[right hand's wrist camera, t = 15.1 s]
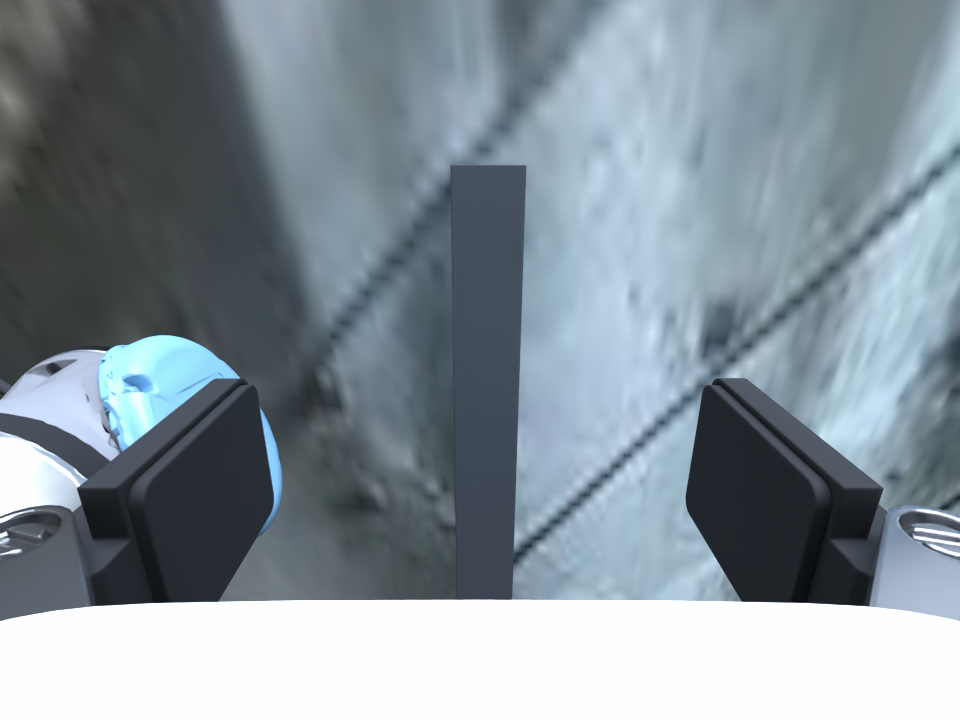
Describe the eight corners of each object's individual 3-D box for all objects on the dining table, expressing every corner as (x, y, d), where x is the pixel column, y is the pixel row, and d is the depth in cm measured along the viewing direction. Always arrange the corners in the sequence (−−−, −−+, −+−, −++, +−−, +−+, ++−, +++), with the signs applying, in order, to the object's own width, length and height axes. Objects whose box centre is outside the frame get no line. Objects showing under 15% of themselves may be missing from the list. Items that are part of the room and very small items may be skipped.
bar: (456, 164, 38) (450, 164, 31) (517, 165, 38) (526, 164, 31) (462, 741, 59) (460, 818, 52) (501, 741, 59) (504, 818, 52)
